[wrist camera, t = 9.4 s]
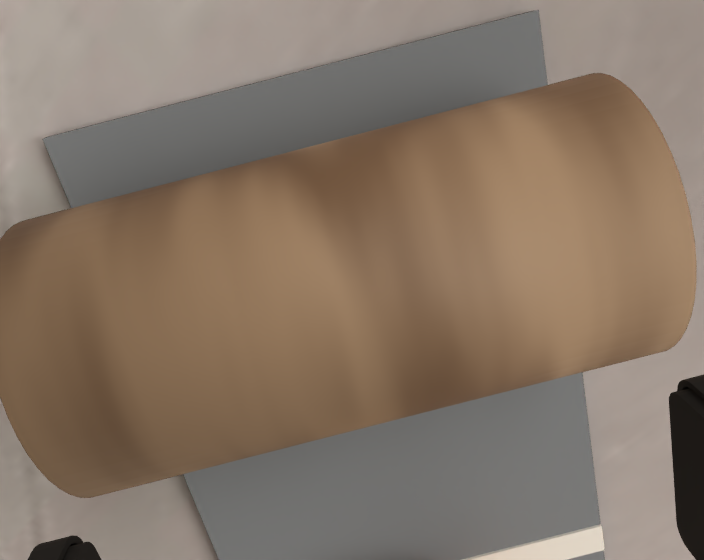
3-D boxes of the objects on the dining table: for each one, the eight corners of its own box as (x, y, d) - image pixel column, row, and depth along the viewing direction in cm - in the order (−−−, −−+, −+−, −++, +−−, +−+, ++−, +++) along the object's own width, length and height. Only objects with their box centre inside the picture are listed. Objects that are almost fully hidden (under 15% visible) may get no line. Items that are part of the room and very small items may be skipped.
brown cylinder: (545, 66, 18) (689, 83, 11) (572, 289, 20) (702, 407, 14) (64, 191, 18) (-66, 278, 11) (150, 397, 21) (84, 565, 14)
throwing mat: (533, 10, 18) (539, 10, 17) (618, 699, 28) (623, 710, 28) (47, 137, 18) (41, 139, 17) (313, 776, 28) (313, 788, 28)
